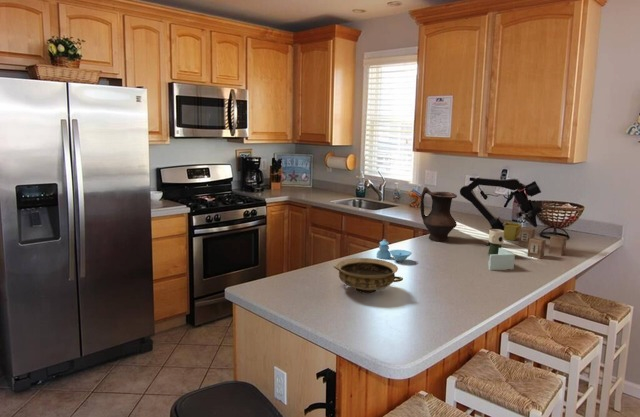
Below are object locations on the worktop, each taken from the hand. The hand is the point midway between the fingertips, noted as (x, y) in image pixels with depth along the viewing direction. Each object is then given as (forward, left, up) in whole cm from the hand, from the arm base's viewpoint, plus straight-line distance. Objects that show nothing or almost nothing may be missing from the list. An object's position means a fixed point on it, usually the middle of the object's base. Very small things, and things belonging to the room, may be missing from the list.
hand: (536, 226), depth 258 cm
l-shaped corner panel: (-45, +1, -13) cm, 47 cm away
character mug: (-27, +9, -13) cm, 31 cm away
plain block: (+3, -11, -13) cm, 17 cm away
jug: (-20, +47, -13) cm, 53 cm away
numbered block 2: (-12, -6, -13) cm, 19 cm away
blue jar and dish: (-74, +38, -13) cm, 84 cm away
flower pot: (+15, +19, -13) cm, 28 cm away
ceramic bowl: (-118, +19, -13) cm, 120 cm away
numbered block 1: (+10, +8, -13) cm, 18 cm away
